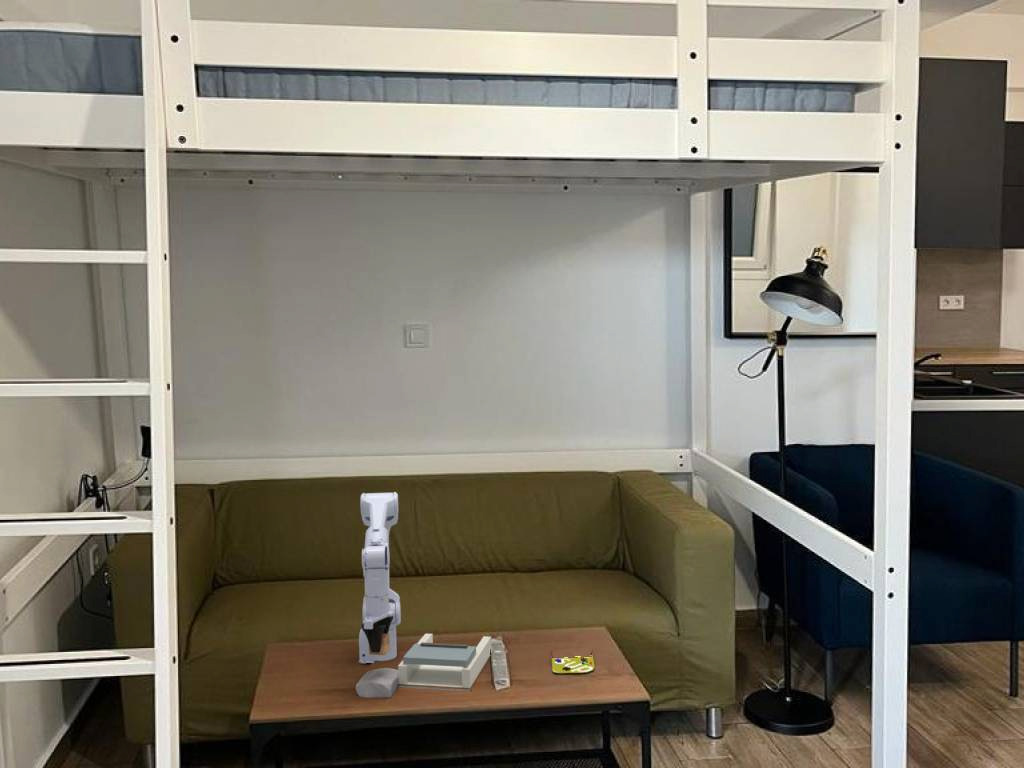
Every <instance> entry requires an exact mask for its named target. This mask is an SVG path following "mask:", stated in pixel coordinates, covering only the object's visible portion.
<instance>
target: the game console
mask: <svg viewBox="0 0 1024 768" xmlns="http://www.w3.org/2000/svg"><path fill="white" fill-rule="evenodd" d="M590 656H592V657H584V658H580V657H581V656H575V657H578V658H568V657H564V658H552V657H551V668H552V669H551V670H552V671H551V672H552V674H553V675H555V676H569V675H570V676H571V675H572V676H574V675H576V676H578V675H579V676H580V675H581V676H582V674H583V675H589V674H592V673H593V672H594V671H595V668H596V666H595V662H594V656H593V655H590ZM591 672H592V673H591Z"/></svg>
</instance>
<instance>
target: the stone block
mask: <svg viewBox="0 0 1024 768" xmlns="http://www.w3.org/2000/svg"><path fill="white" fill-rule="evenodd" d="M399 686H400V684H399V679H398V669H397V668H396V669H395V668H391V667H388V668H387V667H384V668H383V667H378V668H376V669H375V668H374V669H371V670H369V671H366V673H365V674H363V675H362V676H361V677H360V679H359V681H358V682H357V683H356V685H355V691H356V695H358V697H360V698H361V697H362V698H366V699H367V698H368V699H369V698H379V699H380V698H381V699H385V698H386V699H387V698H388V699H390V698H392V697H393V696H394V694H395V693H396V691H397V690H398V689H399Z"/></svg>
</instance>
